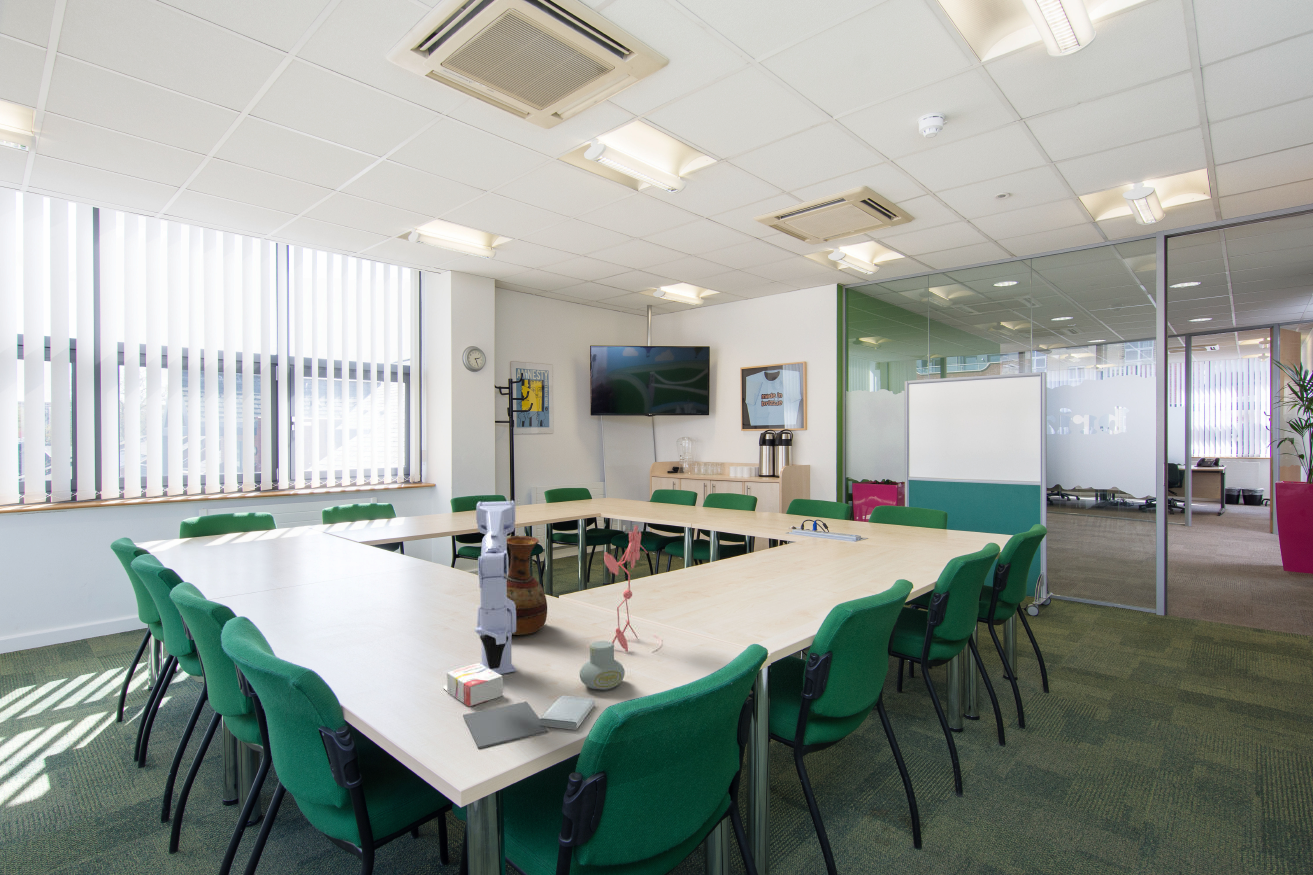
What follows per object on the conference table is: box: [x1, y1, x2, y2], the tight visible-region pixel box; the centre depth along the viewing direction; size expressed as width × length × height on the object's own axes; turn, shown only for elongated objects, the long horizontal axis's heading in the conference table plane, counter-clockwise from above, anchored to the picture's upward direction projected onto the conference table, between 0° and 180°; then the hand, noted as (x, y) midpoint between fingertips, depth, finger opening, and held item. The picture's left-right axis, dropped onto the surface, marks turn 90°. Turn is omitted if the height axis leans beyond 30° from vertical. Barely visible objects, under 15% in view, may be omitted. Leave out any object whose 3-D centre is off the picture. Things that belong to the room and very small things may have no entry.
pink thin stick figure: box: [603, 524, 663, 653], centre depth 177 cm, size 15×26×35 cm, turn 165°
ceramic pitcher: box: [505, 535, 548, 636], centre depth 192 cm, size 20×20×30 cm
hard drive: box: [539, 695, 596, 731], centre depth 131 cm, size 2×8×12 cm
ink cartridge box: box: [442, 662, 504, 707], centre depth 144 cm, size 9×5×15 cm
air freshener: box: [579, 640, 626, 691], centre depth 148 cm, size 11×8×10 cm
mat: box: [462, 701, 549, 750], centre depth 128 cm, size 16×14×1 cm
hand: (494, 667), depth 136 cm, fingers closed
